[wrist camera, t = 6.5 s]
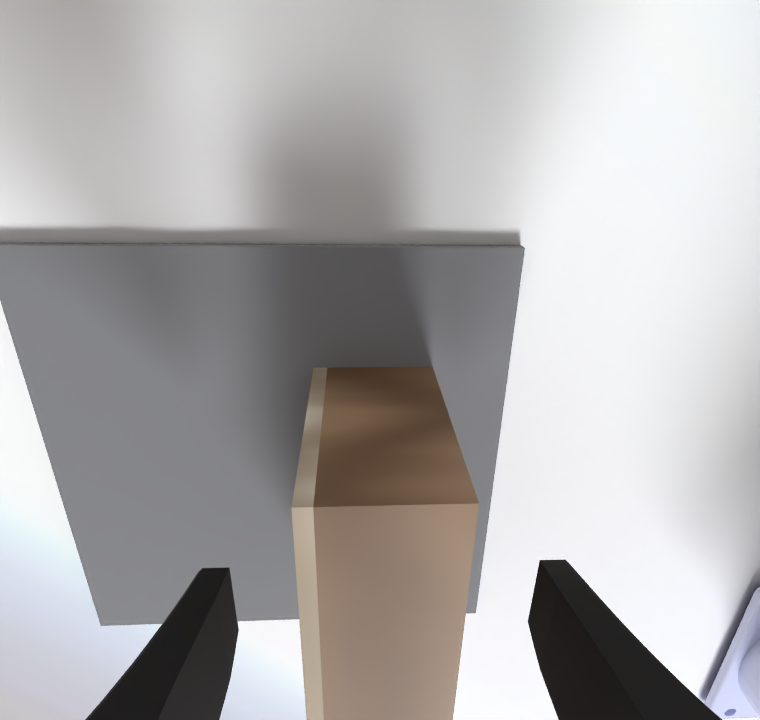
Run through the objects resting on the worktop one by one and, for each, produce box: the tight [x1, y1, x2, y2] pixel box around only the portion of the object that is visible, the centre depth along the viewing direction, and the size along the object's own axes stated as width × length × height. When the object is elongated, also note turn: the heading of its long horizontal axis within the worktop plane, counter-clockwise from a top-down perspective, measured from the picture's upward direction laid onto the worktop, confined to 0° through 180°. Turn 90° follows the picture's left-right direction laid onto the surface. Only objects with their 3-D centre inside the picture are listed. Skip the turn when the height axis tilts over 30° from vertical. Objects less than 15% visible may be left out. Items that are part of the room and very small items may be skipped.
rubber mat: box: [0, 243, 525, 626], centre depth 16 cm, size 14×14×1 cm
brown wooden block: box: [291, 367, 479, 720], centre depth 14 cm, size 4×8×6 cm, turn 179°
